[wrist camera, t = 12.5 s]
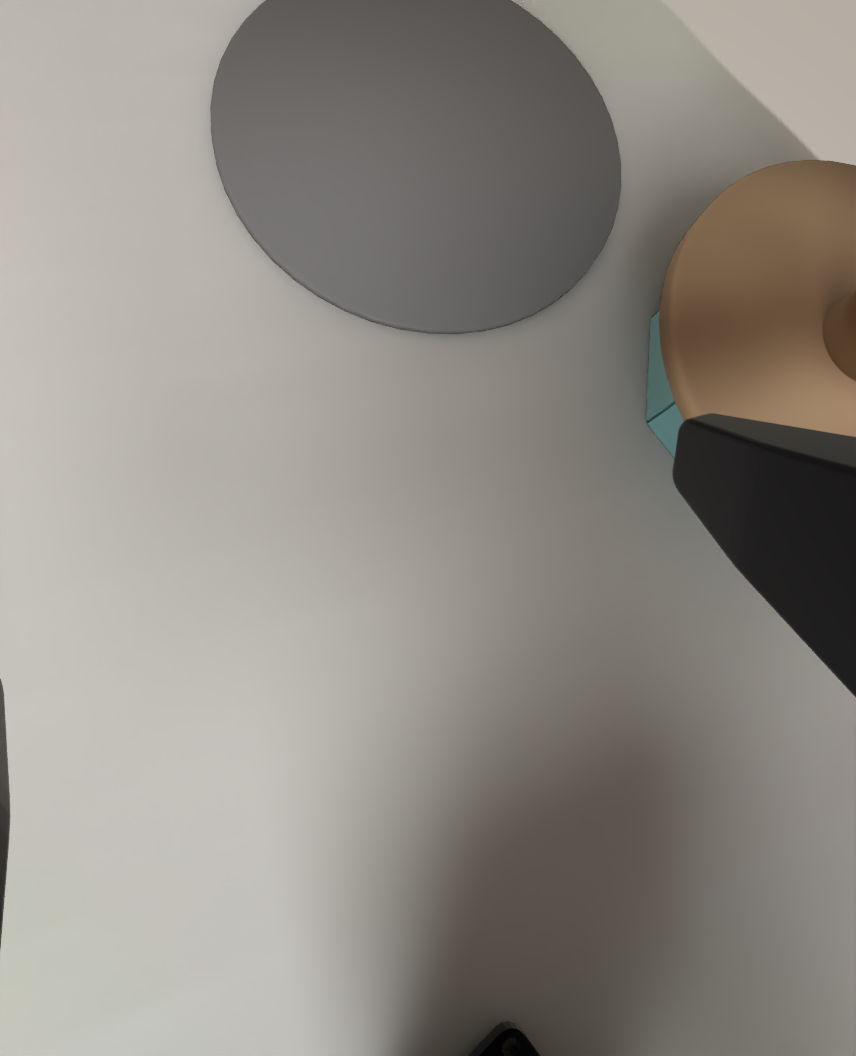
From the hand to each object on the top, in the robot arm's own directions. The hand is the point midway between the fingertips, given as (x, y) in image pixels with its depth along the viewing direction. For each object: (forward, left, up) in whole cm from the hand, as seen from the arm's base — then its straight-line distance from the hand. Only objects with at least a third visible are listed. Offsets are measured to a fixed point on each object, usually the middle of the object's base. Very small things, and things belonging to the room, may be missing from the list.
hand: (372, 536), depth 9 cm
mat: (+12, -14, -14) cm, 22 cm away
